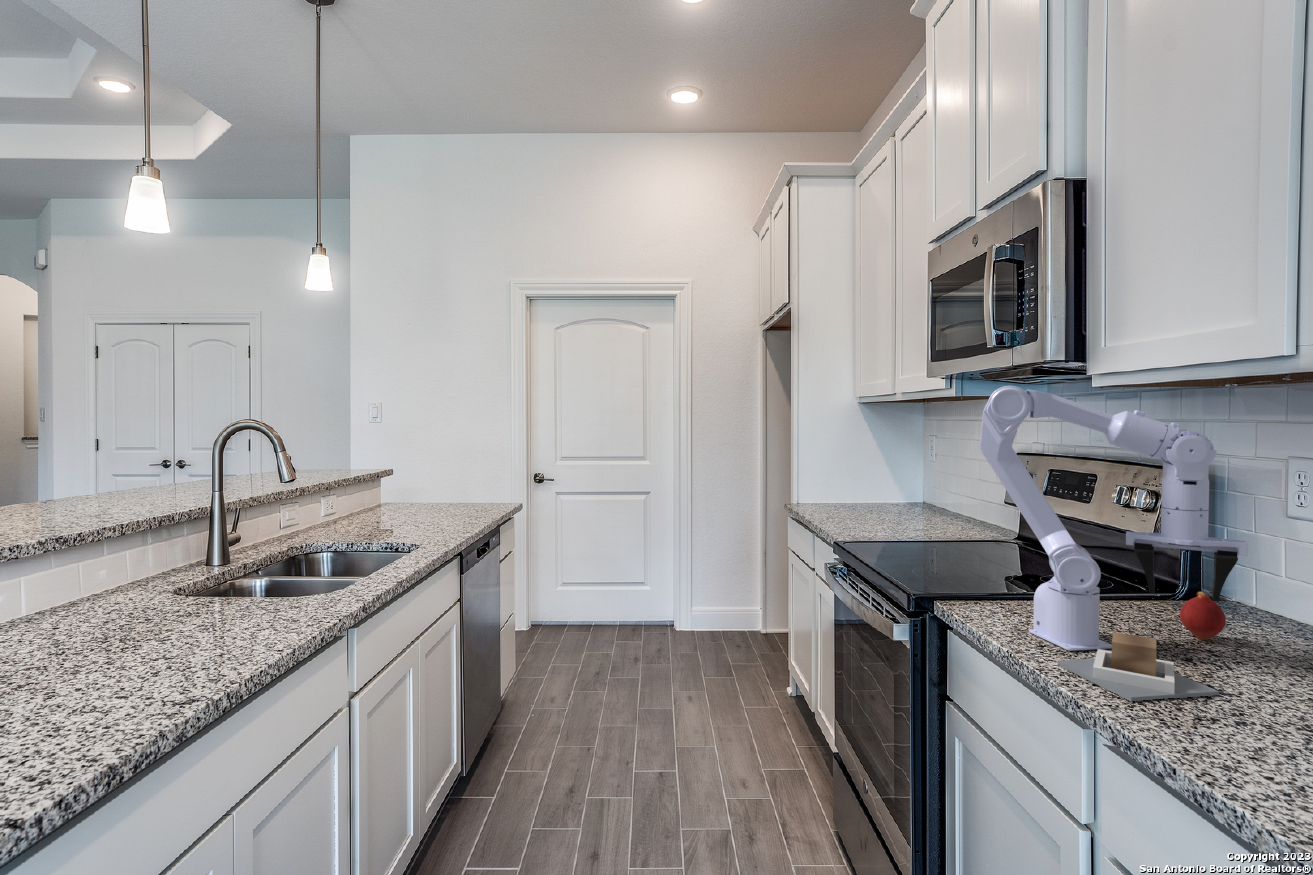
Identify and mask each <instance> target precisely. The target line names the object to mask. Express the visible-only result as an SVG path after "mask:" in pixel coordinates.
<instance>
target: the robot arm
mask: <svg viewBox="0 0 1313 875" xmlns="http://www.w3.org/2000/svg"><path fill="white" fill-rule="evenodd" d="M1028 415H1029V418H1030V419H1038V418H1040V419H1041V418H1049V417H1051V418H1055V419H1057V420H1060V421H1064V422H1068V423H1071V424H1074V425H1078V426H1080V427H1084V428H1087V429H1090V430H1094V431H1096V432H1100V433H1103V435H1104V436H1105V438H1106V439H1107V440H1106V441H1108V443H1109V445H1112V446H1115V447H1118V448H1120V449H1124V450H1126V451H1130V452H1132V453H1135V454H1138V455H1141V456H1144V457H1146V458H1150V459H1152V460H1153V459H1154V460H1155V459H1160V461H1161V462H1162V477H1161V494H1160V495H1161V502H1160V503H1161V507H1160V532H1145V531H1142V532H1141V531H1128V530H1127V531H1126V532H1125V545H1126V546H1133V547H1134V549H1133V551H1134V553H1135V555H1136V557H1137V559H1138V561H1139V563H1140V564H1141V567H1142V569H1143V572H1144V574H1145V577H1146V582H1147V585H1148V586H1147V587H1148V593H1149V594H1153V595H1154V594H1155V593H1156V592H1155V591H1156V590H1155V589H1156V584H1155V582H1156V581H1155V571H1154V566H1155V565H1154V564H1155V563H1154V561H1155V560H1154V558H1155V556H1154V554H1155V548H1165V549H1166V548H1167V549H1177V550H1188V551H1199V552H1207V553H1208V552H1211V553H1213V583H1212V589H1211V591H1212V592H1211V595H1212V596H1211V597H1212V599H1211V600H1213V601H1214V602H1216V603H1217V602H1220V597H1221V594H1222V590H1223V587H1224V584H1225V583H1226V580H1227V578H1228V577H1229V575H1230V573H1231V572H1232V570H1233V568H1234V567H1235V566H1236V565H1237V562H1238V560H1239V557H1238V556H1242V557H1243V556H1246V557H1248V545H1249V544H1248V542H1247V541H1246V540H1239V539H1238V540H1237V539H1230V538H1229V539H1228V538H1220V537H1213V536H1212V537H1211V536H1209V514H1210V513H1209V512H1210V511H1209V508H1210V503H1209V502H1210V479H1209V472H1210V471H1209V470H1210V468H1209V467H1210V465H1211V464H1212V463H1213V462H1214V460H1215V458H1216V455H1217V450H1216V449H1215V447H1214V444H1213V442H1212V441H1211V440H1210V439H1209V437H1207V436H1206V435H1204V434H1202V433H1201V432H1196V431H1188V430H1187V429H1180V428H1181V424H1180V423H1176V422H1171V423H1170V424H1169V423H1165V422H1163V421H1160V420H1156V419H1153V418H1150V417H1147V416H1145V415H1146V412H1145V411H1142V410H1139V409H1138V410H1137V409H1136V410H1134V411H1133V412H1132V411H1129V410H1124V411H1121V412H1119V413H1116V414H1110V413H1107V412H1104V411H1102V410H1098V409H1096V408H1093V407H1090V406H1087V405H1085V404H1082V403H1078V402H1077V401H1073V400H1070V399H1067V398H1064V397H1061V396H1060V395H1056V394H1052V393H1049V392H1043V391H1041V390H1040V391H1039V390H1033V389H1026V390H1025V389H1023V388H1021V387H1019V386H1017V385H1016V386H1015V385H1005V386H1004V385H1003V386H1001V387H999V388H997V389H995V390H994V391H993V392H992V393H991V395H990V397H989V398H988V401H987V403H986V404H985V406H984V409H983V411H982V420H981V429H980V440H979V441H980V442H979V449H980V451H981V453H982V455H983V457H984V458H985V459H986V461H987V463H988V464H989V465H990V467H991V468H992V470H993V472H994V473H995V475H996V476H997V478H998V479H999V481H1000V483H1001V484H1002V486H1003V487H1004V489H1005V490H1006V491H1007V494H1008V495H1009V496H1010V498H1011V500H1012V501H1013V503H1014V504H1015V505H1016V507H1017V508H1018V511H1019V512H1020V514H1021V515H1022V516H1023V518H1024V519H1025V521H1026V523H1027V524H1028V526H1029V527H1030V529H1031V530H1032V532H1033V533H1034V535H1035V537H1036V538H1037V539H1038V541H1039V543H1040V545H1041V546H1042V548H1043V550H1044V551H1045V553H1046V554H1047V556H1048V562H1049V563H1048V564H1049V567H1050V568H1051V571H1052V572H1053V575H1054V576H1052V578H1050V580H1048V581H1046V582H1044V583H1041V584H1040V585H1038V587H1037V588H1036V589H1035V592H1034V595H1033V628H1030V629H1028V632H1029V633H1030V634H1032V635H1035V636H1037V637H1038V638H1040V639H1043V640H1045V641H1047V642H1050V643H1051V644H1054V645H1055V646H1058V647H1060V648H1061V649H1064V650H1067V651H1088V650H1089V651H1090V650H1098V649H1101V650H1107V649H1112V643H1111V644H1110V643H1108V642H1107V641H1104V640H1101V639H1100V598H1101V597H1100V592H1101V590H1100V587H1099V586H1098V584H1099V583H1100V580H1101V577H1102V575H1101V574H1102V572H1101V568H1100V567H1099V566H1100V565H1099V564H1098V563H1097V562H1096V560H1094V558H1093V557H1092V555H1091V554H1090V552H1089V551H1088V550H1087V549H1086V548H1084V547H1082V546H1081V545H1079V544H1078V543H1077V542H1076V541H1074V539H1073V537H1072V536H1071V534H1070V533H1069V531H1068V530H1067V529H1066V527H1065V526H1064V524H1063V523H1062V520H1060V517H1059V516H1058V515H1057V513H1056V512H1055V510H1054V509H1053V507H1052V506H1051V504H1050V503H1049V501H1048V500H1047V498H1046V496H1045V495H1044V493H1043V492H1042V491H1041V489H1040V488H1039V486H1038V485H1037V483H1036V481H1035V480H1034V478H1033V477H1032V476H1031V474H1030V473H1029V471H1028V469H1027V468H1026V467H1025V465H1024V464H1023V462H1022V461H1021V459H1020V457H1019V456H1018V454H1017V453H1016V451H1015V450H1014V448H1013V443H1014V440H1015V439H1016V436H1017V433H1018V428H1019V427H1020V426H1021V424H1023V422H1024V421H1025V419H1026V418H1027V417H1028Z"/></svg>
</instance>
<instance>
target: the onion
mask: <svg viewBox="0 0 1313 875" xmlns="http://www.w3.org/2000/svg"><path fill="white" fill-rule="evenodd" d="M1196 595H1197V596H1195V597H1193V598H1190V599H1189V600H1187V601H1186V602H1185V603H1183V605H1182V606H1181V608H1180V612H1179V618H1180V622H1181V624H1182V625H1183V626H1184V627H1185V628H1186V629H1187V630H1188V631H1189V632H1190V633H1191V634H1193V635H1194V636H1195V637H1196V638H1197V639H1198V640H1201V641H1205V640H1207V639H1211V638H1214V637H1215V636H1217V635H1219V634H1220V633H1221V632H1222V631H1223V630H1224V628H1225V627H1226V622H1227V620H1226V618H1227V617H1226V615H1225V612H1224V610H1223V608H1222V607H1221V606H1220V605H1219V604H1218V603H1217V602H1216V601H1213V599H1211V598H1210V597H1209V596H1208V595H1207V594H1206V593H1205V592H1202V591H1197V592H1196Z"/></svg>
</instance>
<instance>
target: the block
mask: <svg viewBox="0 0 1313 875" xmlns="http://www.w3.org/2000/svg"><path fill="white" fill-rule="evenodd" d="M1111 645H1112V648H1111V651H1112V661H1111V668H1112V669H1117V670H1122V671H1128V672H1133V673H1138V674H1144V675H1149V676H1154V677H1156V659H1157V638H1153V637H1147V636H1140V635H1133V634H1126V633H1121V632H1115V631H1113V633H1112V640H1111Z"/></svg>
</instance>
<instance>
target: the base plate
mask: <svg viewBox="0 0 1313 875" xmlns="http://www.w3.org/2000/svg"><path fill="white" fill-rule="evenodd" d="M1111 661H1112V650H1107V649H1097V651H1096V655H1095V657H1094V658H1083V659H1067V660H1066V659H1065V660H1063V659H1062V660H1057V665H1058V666H1059V667H1062V668H1064V669H1066V670H1067V671H1069V672H1071V673H1073V674H1076V675H1077V676H1078V677H1081V678H1083V679H1085V680H1087V681H1089V682H1091V683H1093V684H1095V685H1097V686H1099V687H1101V688H1103V689H1104V690H1107V691H1108V692H1110V691H1111V692H1110V693H1112V692H1113V693H1112V694H1114V693H1116V694H1118V695H1119V696H1118V695H1117V696H1118V697H1121V698H1123V699H1124V698H1125V699H1124V700H1126V699H1127V701H1128V700H1129V702H1130V703H1133V701H1135V702H1136V701H1137V702H1144V701H1143V700H1151V701H1153V700H1152V699H1163V698H1164V699H1165V698H1180V699H1188V698H1187V697H1194V698H1200V697H1199V696H1208V697H1214V696H1213V695H1219V694H1220V692H1219V690H1216V689H1214V688H1212V687H1209V686H1208V685H1205V684H1203V683H1200V682H1198V681H1195V680H1193V679H1191V678H1188V677H1186V676H1184V675H1181V674H1179V673H1176V672H1175V663H1174V661H1169V660H1163V659H1157V658H1156V677H1154V676H1149V675H1144V674H1138V673H1133V672H1128V671H1122V670H1117V669H1112V668H1111ZM1116 694H1115V695H1116ZM1197 696H1198V697H1197ZM1219 696H1220V695H1219ZM1141 700H1142V701H1141ZM1165 700H1166V699H1165ZM1135 702H1134V703H1135Z"/></svg>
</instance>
